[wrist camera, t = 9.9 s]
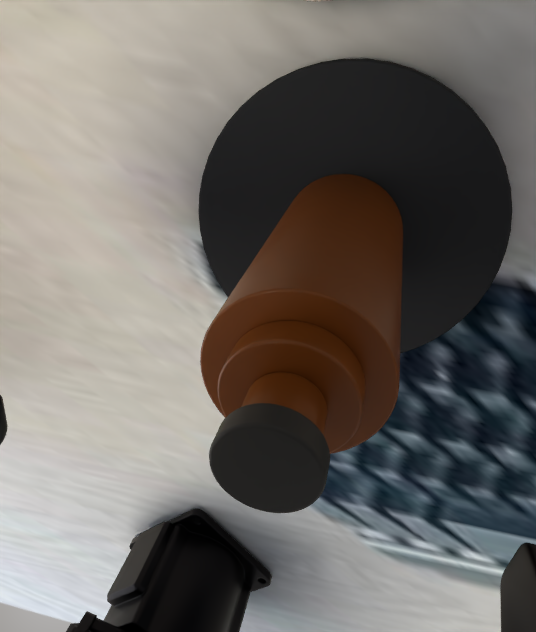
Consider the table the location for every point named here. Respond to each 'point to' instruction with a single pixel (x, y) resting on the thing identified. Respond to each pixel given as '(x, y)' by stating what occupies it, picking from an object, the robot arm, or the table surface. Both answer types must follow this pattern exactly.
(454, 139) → the coaster
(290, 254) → the bottle
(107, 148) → the table surface
